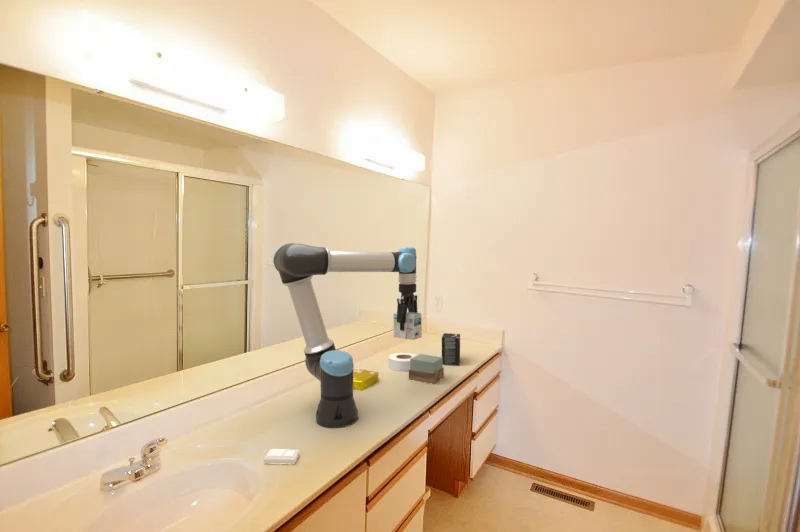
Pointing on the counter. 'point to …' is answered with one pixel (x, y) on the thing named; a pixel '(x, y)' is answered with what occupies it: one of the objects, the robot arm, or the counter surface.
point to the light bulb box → (409, 326)
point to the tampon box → (451, 349)
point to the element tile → (363, 378)
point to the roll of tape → (400, 361)
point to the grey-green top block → (426, 363)
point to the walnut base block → (426, 376)
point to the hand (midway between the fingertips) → (407, 336)
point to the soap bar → (282, 456)
